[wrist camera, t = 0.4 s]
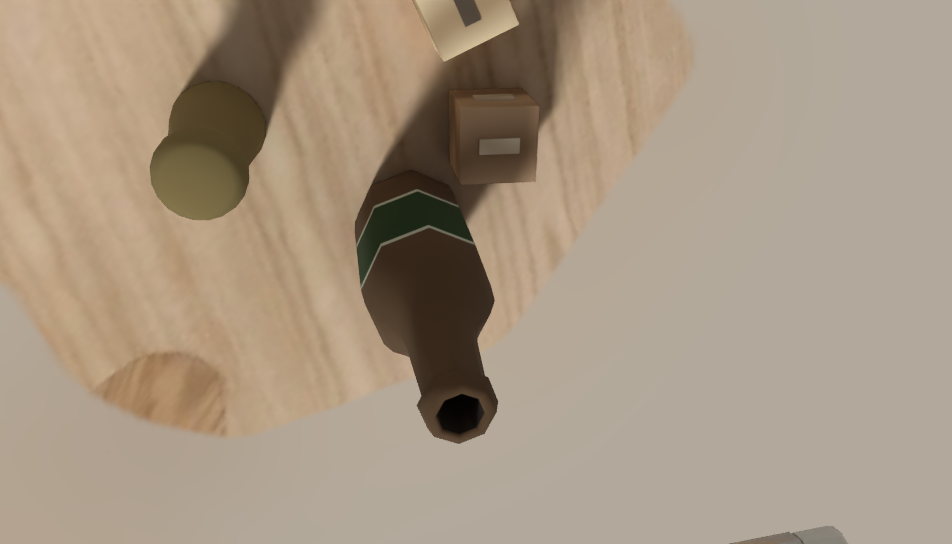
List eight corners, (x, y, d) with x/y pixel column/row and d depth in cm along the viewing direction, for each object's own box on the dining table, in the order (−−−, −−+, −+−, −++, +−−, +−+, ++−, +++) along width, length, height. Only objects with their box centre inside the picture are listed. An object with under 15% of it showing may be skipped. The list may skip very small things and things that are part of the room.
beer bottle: (465, 167, 58) (552, 339, 36) (459, 267, 61) (536, 478, 40) (353, 166, 56) (375, 345, 35) (353, 269, 60) (374, 489, 38)
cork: (236, 65, 52) (218, 109, 42) (282, 148, 55) (275, 208, 45) (150, 105, 52) (112, 158, 42) (200, 186, 55) (175, 253, 45)
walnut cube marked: (449, 87, 55) (461, 106, 51) (521, 85, 56) (540, 104, 51) (449, 160, 57) (460, 185, 53) (519, 158, 58) (536, 182, 54)
